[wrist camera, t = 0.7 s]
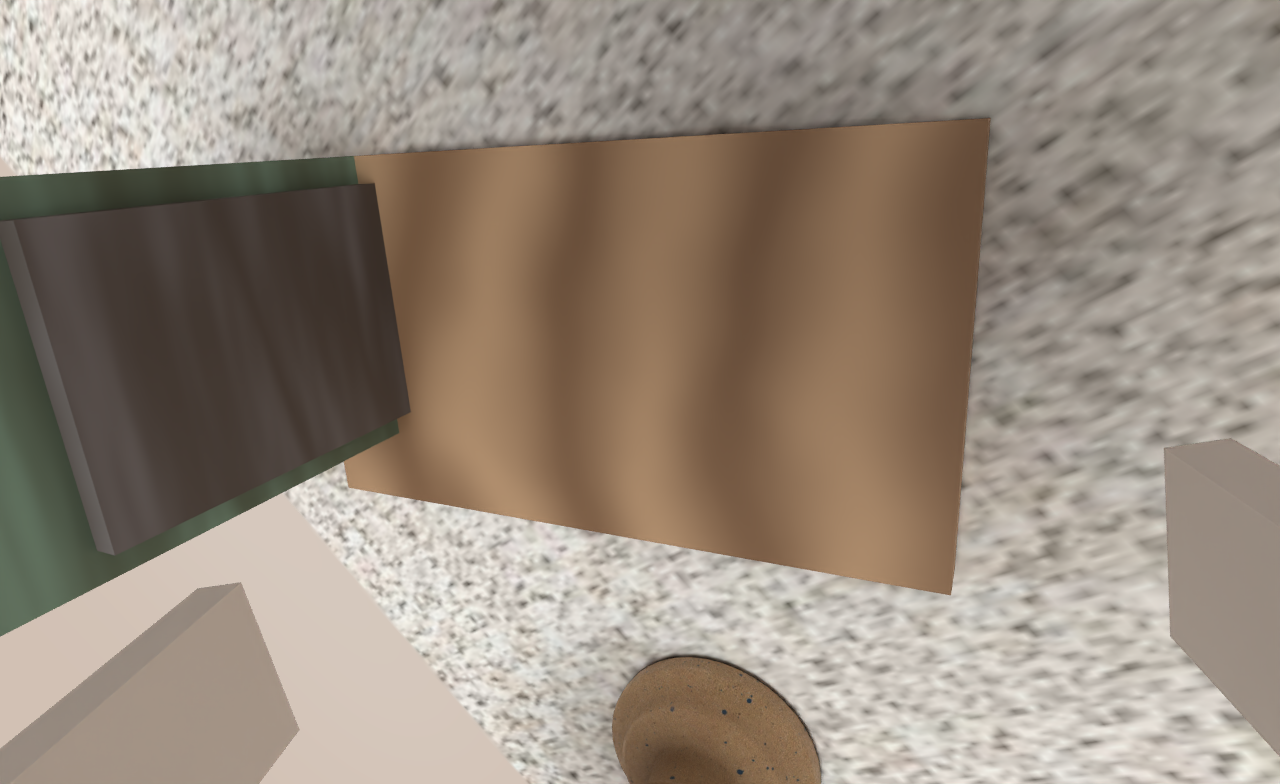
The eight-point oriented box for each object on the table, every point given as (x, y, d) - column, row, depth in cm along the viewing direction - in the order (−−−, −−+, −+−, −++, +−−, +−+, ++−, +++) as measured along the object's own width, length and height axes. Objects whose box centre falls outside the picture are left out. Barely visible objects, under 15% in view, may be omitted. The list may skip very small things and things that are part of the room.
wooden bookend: (990, 118, 21) (901, 123, 5) (954, 570, 25) (844, 1329, 9) (316, 158, 31) (-401, 200, 16) (372, 474, 36) (-142, 758, 20)
